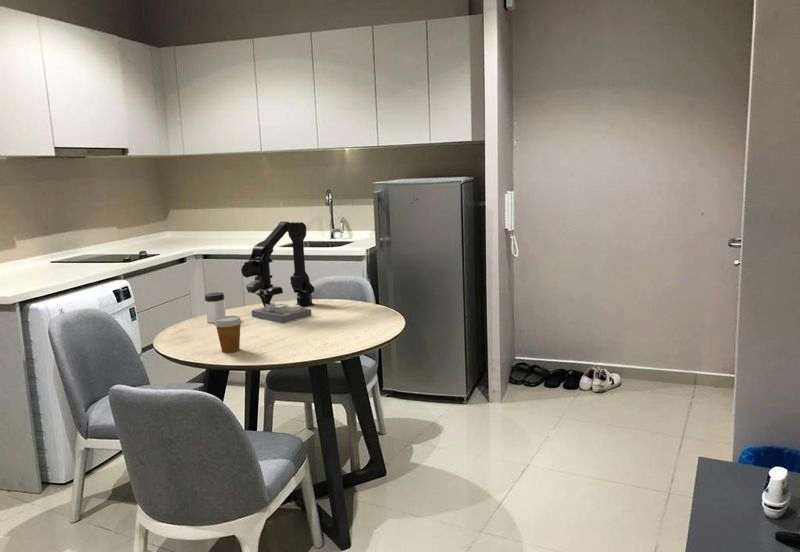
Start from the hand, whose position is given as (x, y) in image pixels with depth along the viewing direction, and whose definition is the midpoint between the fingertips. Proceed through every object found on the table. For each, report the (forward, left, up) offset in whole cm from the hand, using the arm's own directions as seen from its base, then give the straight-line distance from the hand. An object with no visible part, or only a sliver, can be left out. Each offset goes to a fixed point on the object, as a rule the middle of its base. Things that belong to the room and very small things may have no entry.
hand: (266, 308), depth 291 cm
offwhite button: (-8, +10, -2) cm, 12 cm away
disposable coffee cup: (+41, +33, -4) cm, 52 cm away
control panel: (-4, +5, -4) cm, 8 cm away
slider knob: (0, +3, -1) cm, 3 cm away
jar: (+17, -14, -4) cm, 22 cm away
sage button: (-7, 0, -3) cm, 8 cm away
